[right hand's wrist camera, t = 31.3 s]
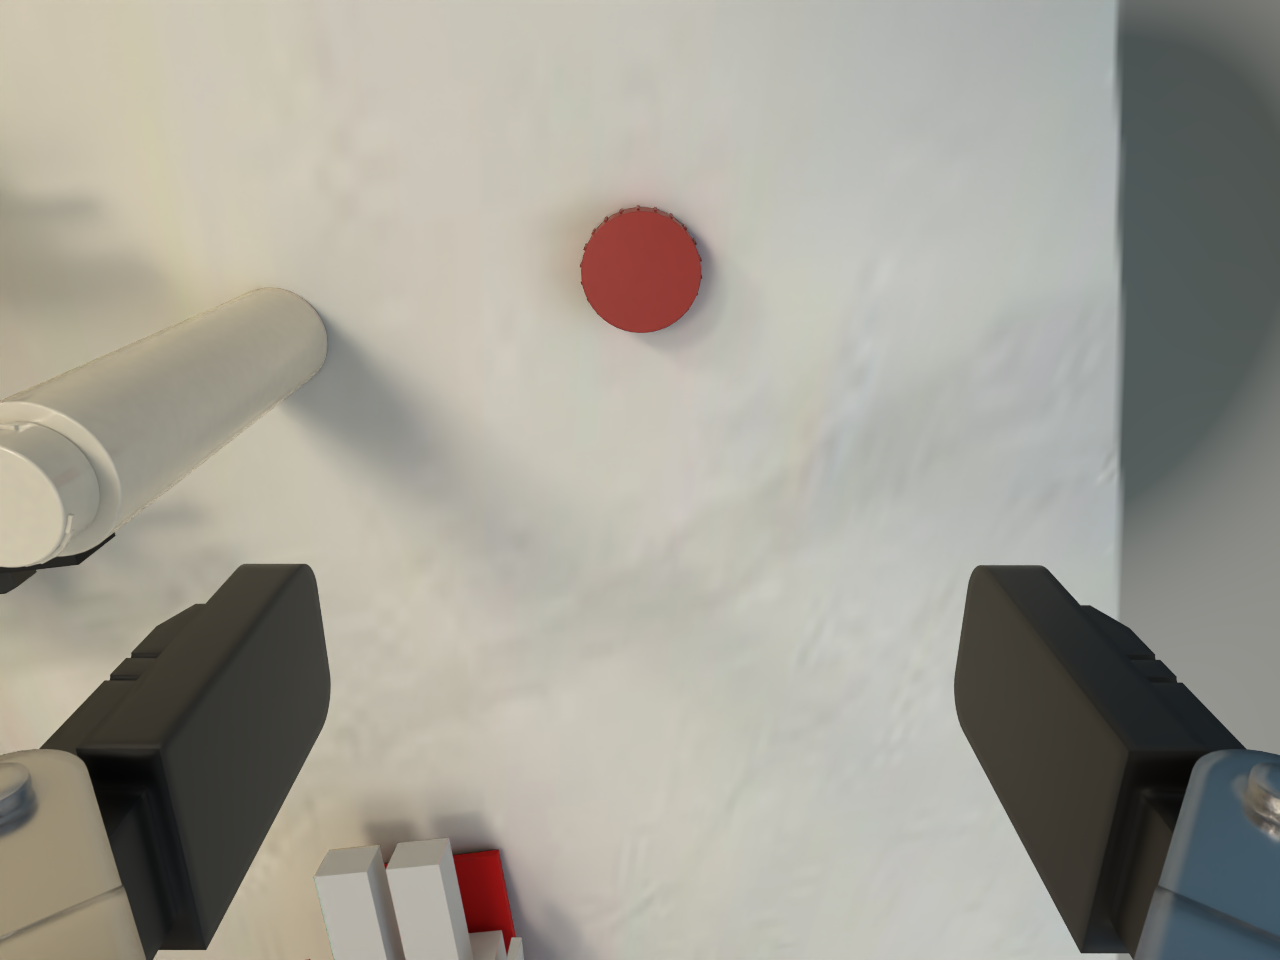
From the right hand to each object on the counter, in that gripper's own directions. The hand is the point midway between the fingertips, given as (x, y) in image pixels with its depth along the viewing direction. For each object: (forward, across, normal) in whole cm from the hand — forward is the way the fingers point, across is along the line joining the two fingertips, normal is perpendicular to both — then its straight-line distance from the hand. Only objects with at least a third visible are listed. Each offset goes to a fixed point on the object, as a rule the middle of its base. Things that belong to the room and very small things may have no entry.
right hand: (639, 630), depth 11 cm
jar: (+30, +16, +3) cm, 34 cm away
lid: (+29, 0, 0) cm, 29 cm away
